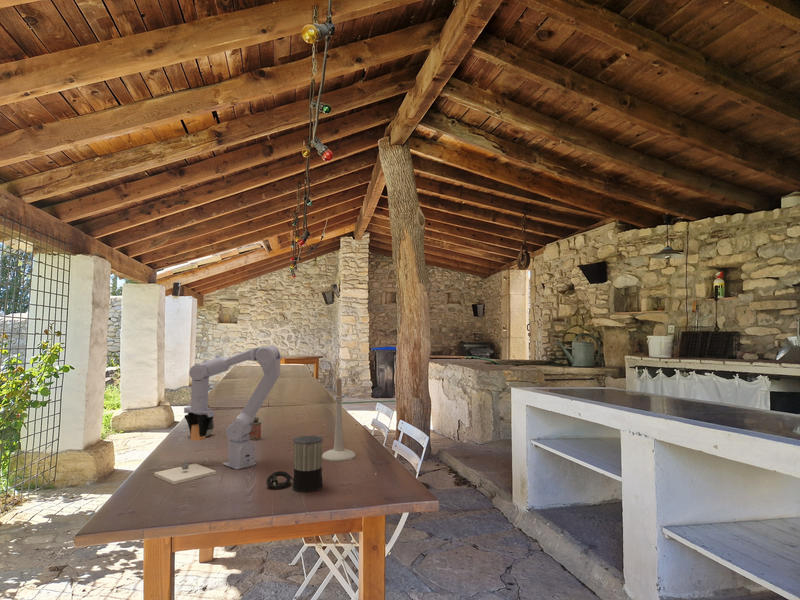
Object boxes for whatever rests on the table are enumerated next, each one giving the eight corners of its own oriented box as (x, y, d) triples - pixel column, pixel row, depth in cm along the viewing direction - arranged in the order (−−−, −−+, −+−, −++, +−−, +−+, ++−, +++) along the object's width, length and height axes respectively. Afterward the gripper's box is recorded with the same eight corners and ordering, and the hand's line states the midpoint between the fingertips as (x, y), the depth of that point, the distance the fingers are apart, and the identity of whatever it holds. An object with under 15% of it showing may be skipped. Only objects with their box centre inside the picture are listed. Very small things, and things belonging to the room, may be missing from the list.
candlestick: (339, 450, 190) (339, 375, 192) (362, 456, 182) (362, 377, 184) (314, 457, 180) (315, 377, 182) (337, 463, 172) (338, 379, 174)
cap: (207, 438, 172) (208, 424, 173) (196, 441, 168) (197, 426, 169) (199, 437, 175) (200, 423, 175) (188, 439, 171) (188, 425, 171)
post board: (215, 474, 160) (216, 459, 160) (173, 484, 149) (174, 468, 149) (195, 466, 169) (195, 452, 169) (154, 475, 158) (154, 461, 158)
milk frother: (327, 489, 144) (327, 440, 145) (275, 498, 137) (276, 446, 138) (312, 476, 157) (312, 431, 158) (263, 484, 149) (264, 436, 150)
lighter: (262, 438, 210) (262, 415, 211) (259, 440, 207) (259, 417, 208) (244, 438, 211) (245, 415, 212) (241, 440, 208) (241, 417, 208)
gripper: (222, 397, 172) (220, 435, 171) (196, 394, 180) (195, 430, 179) (205, 399, 166) (203, 439, 165) (179, 396, 173) (177, 433, 173)
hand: (198, 435), depth 172 cm, fingers closed on cap, 5 cm apart
